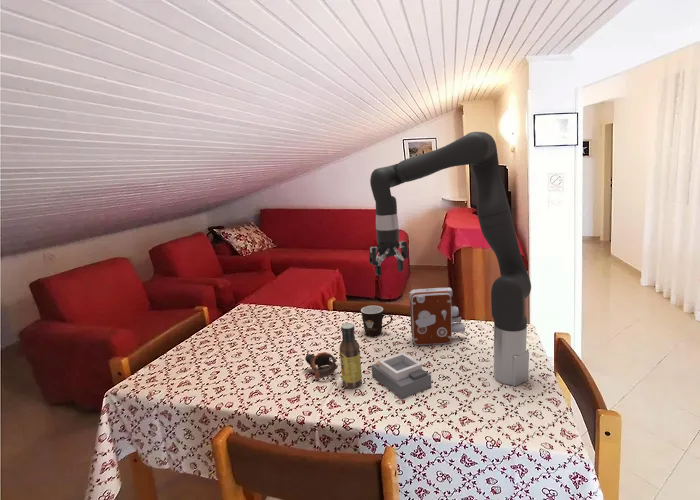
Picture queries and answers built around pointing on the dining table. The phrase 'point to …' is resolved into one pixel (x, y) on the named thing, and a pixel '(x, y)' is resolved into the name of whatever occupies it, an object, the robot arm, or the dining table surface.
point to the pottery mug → (321, 364)
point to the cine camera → (433, 316)
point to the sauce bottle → (350, 357)
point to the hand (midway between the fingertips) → (389, 273)
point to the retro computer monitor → (401, 375)
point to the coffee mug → (373, 320)
